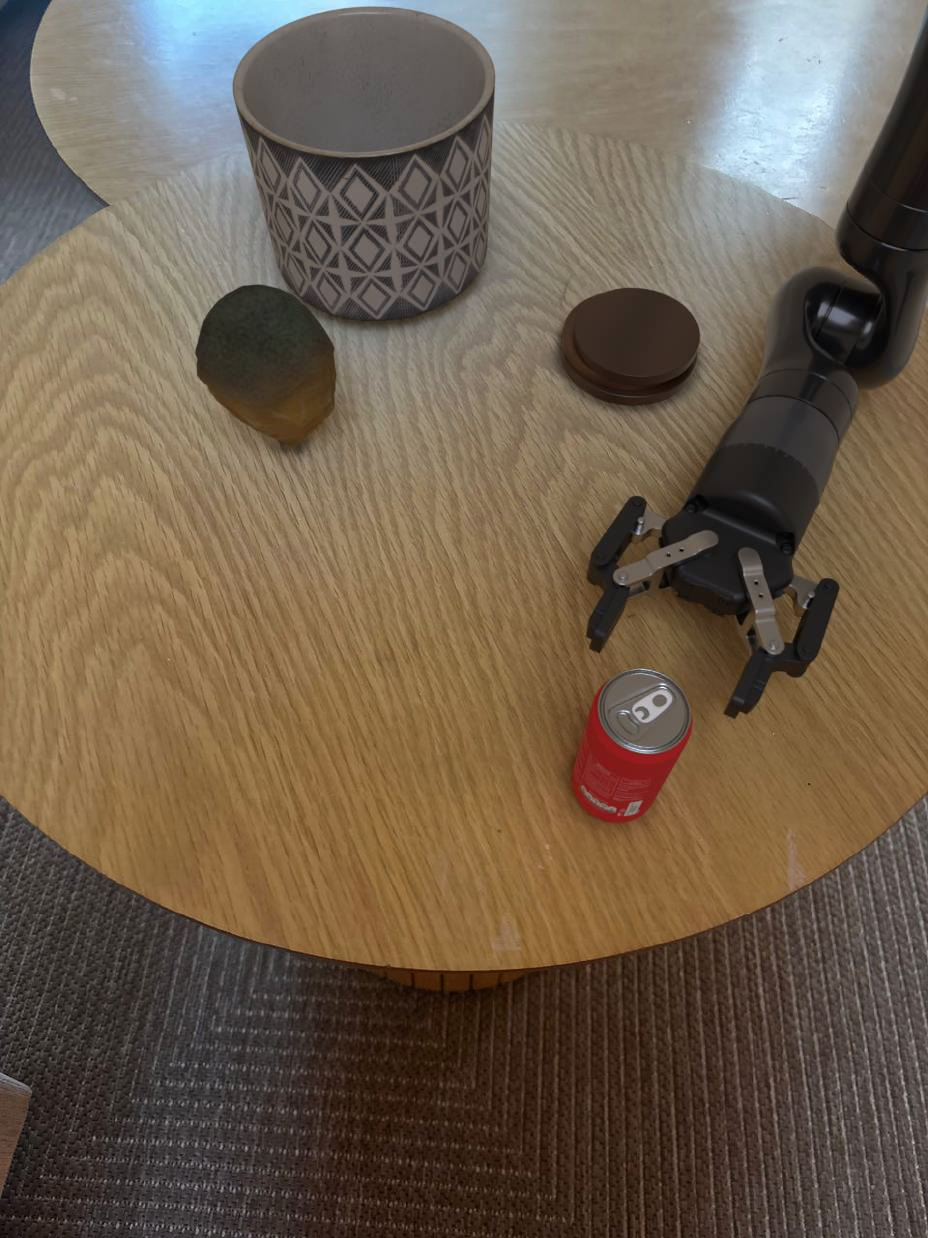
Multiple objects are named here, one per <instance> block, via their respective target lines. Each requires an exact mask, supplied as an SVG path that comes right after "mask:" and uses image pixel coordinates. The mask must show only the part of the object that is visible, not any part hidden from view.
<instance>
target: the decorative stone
mask: <svg viewBox="0 0 928 1238" xmlns="http://www.w3.org/2000/svg"><path fill="white" fill-rule="evenodd" d="M335 350H336V349H335V345H334V343H333V342H332V340H331V338H330V336H329V334H328V333H327V332H326V330H325V329H324V327H323V326H322V324H321V322H320V321H319V320H318V318H317V317H316V316H315V315H314V313H313V312H312V311H311V310H310V309H309V308H308V307H307V306H306V305H305V303H303V302H302V301H300V299H298V298H297V297H296V296H295V295H294V294H292V293H290V292H288V291H285V290H283V289H281V288H279V287H274V286H270V285H265V284H248V285H241V286H239V287H236V288H235V289H234V290H231V291H229V292H228V293H226V294H225V295H223V296H222V297H221V298H219V299H218V300H217V301H216V302H215V304H214V305H213V306H212V307H211V308H210V309H209V311H208V312H207V313H206V315H205V316H204V318H203V320H202V322H201V326H200V330H199V335H198V338H197V344H196V346H195V351H194V354H195V357H196V377H197V378H198V379H199V381H201V382H202V383H203V384H204V385H206V387H207V390H208V392H209V394H210V395H211V396H212V397H213V398H214V400H215V401H216V402H217V403H219V404H220V405H221V406H223V408H225V409H226V410H227V411H228V412H229V413H230V414H231V416H233V417H235V418H236V419H238V420H239V422H241V423H243V424H244V425H246V426H248V427H250V428H252V429H253V430H254V431H257V432H259V433H261V434H264V435H266V436H268V437H270V438H271V439H275V440H278V441H279V442H282V443H284V444H286V445H287V446H290V447H298V446H300V445H301V441H302V440H304V439H305V438H306V437H307V436H309V435H310V434H312V432H313V431H315V430H316V429H318V427H319V426H320V425H321V424H322V423H323V422H324V421H325V420H326V419H327V418H328V417H329V416H330V415H331V414H332V412H333V411H334V410H335V404H336V399H335V397H336V396H335V394H336V393H335V392H336V389H337V388H336V387H337V386H336V385H337V369H336V364H335V363H336V362H335V355H334V354H335Z"/></svg>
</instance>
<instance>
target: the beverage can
mask: <svg viewBox="0 0 928 1238" xmlns="http://www.w3.org/2000/svg"><path fill="white" fill-rule="evenodd" d="M585 723H586V724H585V727H584V731H583V734H582V736H581V737H582V738H581V740H580V744H579V747H578V751H577V754H576V758H575V762H574V765H573V768H572V773H571V786H572V790H573V793H574V795H575V798H576V800H577V801H578V803H579V805H580V806H581V807H582V808H583V809H584V810H585V811H586V812H587V813H588V814H590V815H591V816H593V817H595V818H596V819H598V820H600V821H602V822H606V823H612V824H624V823H625V824H626V823H628V822H629V823H630V822H632V821H635V820H637V819H639V818H640V817H642V816H643V815H645V814H646V813H647V812H648V811H649V809H650V808H651V807H652V805H653V803H654V802H655V800H656V799H657V796H658V795H659V793H660V791H661V789H662V788H663V786H664V785H665V783H666V781H667V779H668V777H669V776H670V774H671V772H672V770H673V769H674V767H675V765H676V763H677V762H678V760H679V758H680V756H681V755H682V753H683V751H684V750H685V747H686V746H687V744H688V742H689V741H690V738H691V736H692V731H693V714H692V709H691V705H690V701H689V699H688V696H687V694H686V693H685V692H684V690H683V689H682V687H681V686H680V684H678V683H677V682H676V681H675V680H674V679H672V678H671V677H669V676H668V675H666V674H664V673H662V672H660V671H657V670H654V669H649V668H644V667H636V668H631V669H627V670H623V671H621V672H619V673H617V674H616V675H614V676H613V677H611V678H609V679H608V680H607V681H606V682H605V683H603V684H602V685H601V686H600V688H599V689H598V690H597V692H596V694H595V695H594V698H593V700H592V703H591V707H590V710H589V713H588V717H587V720H586V722H585Z"/></svg>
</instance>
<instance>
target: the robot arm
mask: <svg viewBox="0 0 928 1238" xmlns="http://www.w3.org/2000/svg"><path fill="white" fill-rule="evenodd" d="M834 244H835V248H836V250H837V252H838V254H839V255H840V257H841V258H842V259H843V260H844V262H845V263H846V264H847V265H848V266H850V267H851V268H852V269H853V270H854V271H856V272H857V273H858V274H860V276H862V277H864V278H865V279H864V278H861V277H859V276H856V275H853V274H848V272H846V271H843V270H840V269H838V268H835V267H833V266H829V265H824V264H813V265H808V266H805V267H803V268H800V269H799V270H797V271H795V272H793V273H792V274H791V275H790V276H788V277H787V278H786V279H785V280H784V282H782V284H781V285H780V286H779V288H778V290H777V291H776V292H775V294H774V297H773V299H772V302H771V304H770V307H769V310H768V313H767V318H766V324H765V330H764V337H763V350H762V358H761V365H760V369H759V373H758V375H757V378H756V379H755V382H754V384H753V385H752V388H751V390H750V391H749V394H748V395H747V397H746V399H745V401H744V403H743V405H742V406H741V408H740V409H739V411H738V413H737V415H736V417H735V418H733V420H732V421H731V423H730V424H729V425H728V427H727V428H725V431H724V432H723V434H722V436H721V437H720V438H719V440H718V442H717V443H716V445H715V447H714V449H713V451H712V453H711V454H710V456H709V458H708V460H707V462H706V463H705V465H704V467H703V468H702V471H701V473H700V474H699V476H698V478H697V479H696V481H695V484H694V485H693V487H692V489H691V490H690V492H689V494H688V496H687V498H686V499H685V501H684V503H683V505H682V507H681V509H680V510H679V511H678V512H677V513H676V514H674V515H673V516H670V517H669V518H667V519H666V518H665V517H663V516H660V515H658V514H656V513H654V512H652V511H650V510H648V509H647V505H648V504H647V503H648V502H647V500H646V499H645V498H644V497H643V496H640V495H633V496H630V497H629V498H628V499H627V501H626V503H624V505H623V507H622V508H621V509H620V511H619V512H618V514H617V515H616V517H615V518H614V520H613V521H612V523H610V525H609V527H608V528H607V530H606V531H605V533H604V534H603V536H602V537H601V538H600V540H599V541H598V543H597V544H596V545H595V546H594V548H593V550H592V551H591V553H590V558H589V561H588V567H587V571H586V577H585V578H586V581H587V582H588V583H589V584H590V585H593V586H598V587H599V588H600V589H601V591H602V592H603V593H602V595H601V596H600V598H599V600H598V602H597V604H596V606H594V609H593V610H592V612H591V614H590V616H588V617H589V618H588V622H587V626H586V629H585V630H586V631H585V638H586V639H589V640H590V643H589V646H588V647H589V648H588V649H589V650H591V651H593V652H595V653H596V654H601V653H602V651H603V649H604V647H605V646H606V644H607V642H608V640H609V638H610V637H611V635H612V633H613V632H614V629H616V626H617V625H618V623H619V621H620V619H621V617H622V616H623V614H624V612H625V609H626V606H627V604H628V603H630V602H632V601H635V600H637V599H641V598H643V597H646V598H653V597H655V596H657V595H659V594H662V593H665V592H667V591H671V590H674V592H675V593H676V595H675V597H676V598H679V599H681V600H683V601H685V602H687V603H692V604H697V605H700V606H702V607H703V608H704V609H706V610H707V611H709V612H710V613H712V614H713V615H715V616H718V617H721V618H722V619H724V617H725V616H732V618H733V621H734V625H735V627H736V631H737V634H738V637H739V639H740V641H743V642H744V644H745V648H746V651H747V655H748V656H749V659H748V660H747V662H746V663H745V665H744V667H743V669H742V671H741V673H740V676H739V678H738V681H737V682H736V685H735V686H734V689H733V691H732V694H731V695H730V698H729V700H728V702H727V704H726V706H725V708H724V710H723V713H722V714H723V715H724V716H727V717H728V718H731V719H733V720H736V718H737V717H738V715H739V714H740V713H742V714H744V715H748V714H749V713H751V712H752V711H753V710H754V709H755V707H756V706H757V704H758V703H759V701H760V700H761V699H762V696H763V694H764V691H765V690H766V687H767V685H768V683H769V680H770V677H771V676H772V673H776V672H782V673H786V675H787V676H789V677H790V678H793V679H798V678H801V677H803V676H804V674H805V673H806V672H807V670H808V668H809V667H810V665H811V664H812V662H814V661H815V660H816V658H817V657H818V655H819V652H820V651H821V647H822V644H823V641H824V637H825V635H826V632H827V630H828V629H827V628H828V625H829V623H830V620H831V616H832V613H833V610H834V607H835V604H836V601H837V598H838V595H839V593H840V584H839V583H838V581H836V580H835V579H834V578H831V577H824V578H822V579H820V580H819V582H815V581H813V580H810V579H808V578H806V577H802V576H799V575H797V574H795V572H794V568H793V560H794V557H795V555H796V553H797V551H798V549H799V546H800V544H801V542H802V540H803V538H804V535H805V533H806V531H807V529H808V527H809V526H810V525H809V524H810V523H811V521H812V519H813V516H814V514H815V512H816V510H817V508H818V507H819V505H820V503H821V499H822V497H823V494H824V493H825V490H826V487H827V486H828V483H829V481H830V478H831V476H832V472H833V468H834V466H835V465H834V464H835V460H836V457H837V455H838V452H839V450H840V447H841V446H842V444H843V442H844V439H845V437H846V435H847V432H848V430H849V429H850V427H851V425H852V423H853V420H854V419H855V415H856V413H857V410H858V407H859V403H860V391H861V392H869V391H874V390H876V389H880V388H882V387H884V386H886V385H888V384H889V383H891V382H893V381H894V380H895V379H896V378H897V377H898V376H899V375H900V374H901V373H902V372H903V370H904V369H905V368H906V366H907V365H908V363H909V361H910V360H911V357H912V355H913V353H914V350H915V347H916V344H917V341H918V339H919V335H920V330H921V325H922V321H923V317H924V312H925V308H926V304H927V299H928V4H927V5H926V8H925V11H924V14H923V17H922V20H921V24H920V28H919V31H918V33H917V36H916V39H915V43H914V45H913V49H912V51H911V55H910V59H909V60H908V62H907V66H906V68H905V70H904V73H903V76H902V79H901V81H900V84H899V87H898V89H897V91H896V94H895V96H894V99H893V101H892V104H891V105H890V108H889V110H888V112H887V113H886V117H885V119H884V121H883V123H882V126H881V128H880V130H879V132H878V135H877V136H876V139H875V141H874V143H873V145H872V147H871V149H870V151H869V153H868V155H867V158H866V159H865V162H864V164H863V167H862V169H861V171H860V172H859V175H858V177H857V180H856V181H855V183H854V186H853V187H852V190H851V192H850V194H849V196H848V198H847V200H846V202H845V204H844V207H843V209H842V211H841V212H840V216H839V218H838V220H837V223H836V227H835V230H834ZM650 537H655V538H658V540H657V541H658V547H659V549H656V550H654V551H651V552H649V553H648V554H646V555H645V556H644V557H643V558H642V559H640V560H638V561H635V562H632V563H629V564H627V565H624V566H621V567H620V566H619V564H618V562H619V561H620V559H621V557H622V556H623V555H624V553H625V552H626V550H627V549H628V548H629V546H630V544H632V545H638V544H640V543H642V542H645V540H646V539H648V538H650ZM784 594H785V595H788V596H789V597H790V598H791V600H792V610H793V612H794V615H795V616H796V617H797V618H800V619H799V622H798V625H797V627H796V630H795V633H794V637H793V638H792V642H787V641H784V640H783V637H782V634H781V631H780V628H779V625H778V622H777V619H776V616H777V609H776V605H775V603H774V600H776V599H779V598H780V597H782V596H784Z"/></svg>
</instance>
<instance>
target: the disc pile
mask: <svg viewBox="0 0 928 1238" xmlns="http://www.w3.org/2000/svg"><path fill="white" fill-rule="evenodd" d="M561 339H562V340H561V341H562V342H561V343H562V345H561V358H562V364H563V367H564V369H565V371H566V373H567V375H568V376H569V378H570V379H571V380H572V382H573V383H574V384H575V385H577V387H578V388H580V389H581V390H583V391H584V392H585V393H587V394H589V395H590V396H592V397H594V398H597V399H599V400H602V401H604V402H607V403H610V404H615V405H621V406H647V405H653V404H656V403H659V402H662V401H663V402H664V401H665V400H667V399H670V398H671V397H673V396H675V395H676V394H678V393H679V392H681V390H683V389H684V388H685V386H686V385H687V384H688V382H689V381H690V380H691V378H692V377H693V374H694V371H695V367H696V365H697V360H698V350H699V346H700V343H701V330H700V327H699V323H698V321H697V319H696V317H695V316H694V314H693V313H692V312H691V310H689V308H687V306H685V305H684V304H683V303H682V302H680V301H679V300H677V299H675V298H674V297H672V296H671V295H668V294H666V293H663V292H661V291H657V290H654V289H649V288H642V287H621V288H615V289H611V290H607V291H605V292H600V293H597V294H594V295H591V296H589V297H587V298H584V300H582V301H581V302H579V303H578V304H577V305H575V306H574V307H573V308H572V309H571V311H570V312H569V313H568V315H567V316H566V318H565V321H564V324H563V330H562V337H561Z"/></svg>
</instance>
